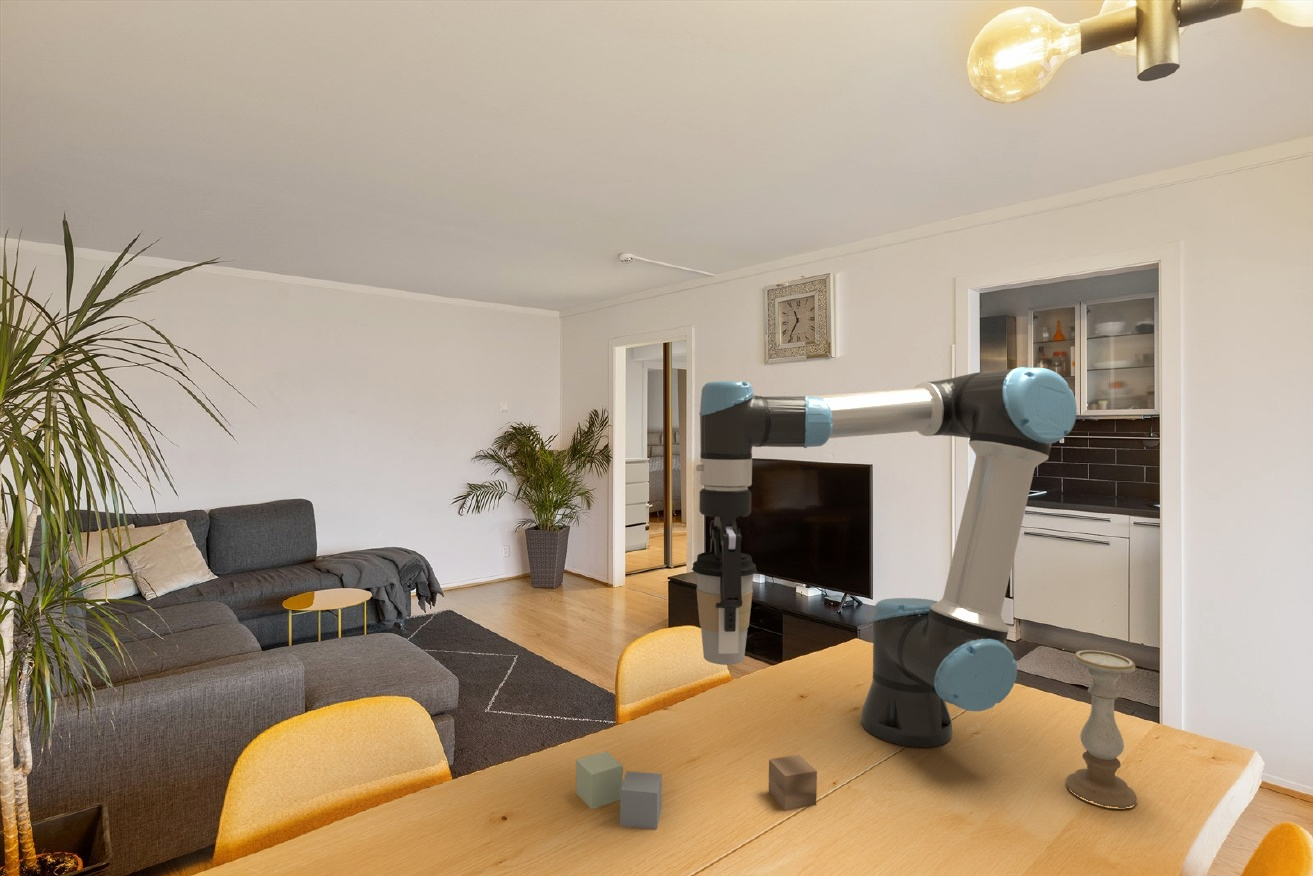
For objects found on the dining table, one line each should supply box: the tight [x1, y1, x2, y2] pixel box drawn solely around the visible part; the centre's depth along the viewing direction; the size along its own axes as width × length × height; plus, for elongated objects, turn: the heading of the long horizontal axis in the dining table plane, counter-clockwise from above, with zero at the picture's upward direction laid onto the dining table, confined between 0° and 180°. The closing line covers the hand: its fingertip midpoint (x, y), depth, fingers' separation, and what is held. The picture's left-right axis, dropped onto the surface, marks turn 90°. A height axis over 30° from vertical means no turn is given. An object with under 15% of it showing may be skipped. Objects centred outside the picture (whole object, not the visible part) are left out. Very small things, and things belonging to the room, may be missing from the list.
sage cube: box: [575, 750, 624, 810], centre depth 100 cm, size 5×5×5 cm
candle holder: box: [1065, 649, 1138, 808], centre depth 101 cm, size 9×9×20 cm
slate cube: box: [619, 771, 663, 830], centre depth 94 cm, size 5×5×5 cm
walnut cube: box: [768, 754, 818, 812], centre depth 99 cm, size 5×5×5 cm
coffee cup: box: [691, 551, 758, 666], centre depth 100 cm, size 9×9×15 cm
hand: (723, 642), depth 100 cm, fingers closed on coffee cup, 8 cm apart
